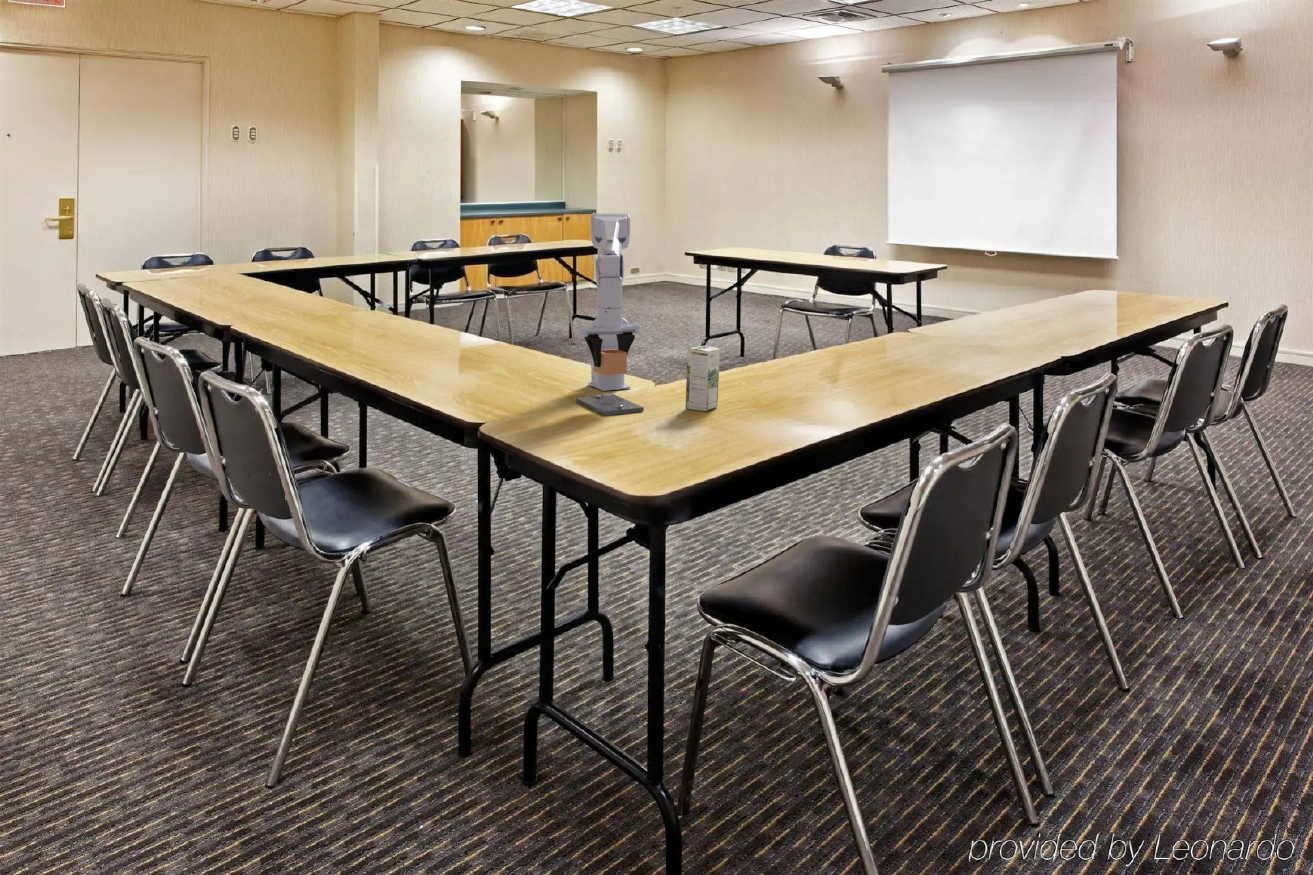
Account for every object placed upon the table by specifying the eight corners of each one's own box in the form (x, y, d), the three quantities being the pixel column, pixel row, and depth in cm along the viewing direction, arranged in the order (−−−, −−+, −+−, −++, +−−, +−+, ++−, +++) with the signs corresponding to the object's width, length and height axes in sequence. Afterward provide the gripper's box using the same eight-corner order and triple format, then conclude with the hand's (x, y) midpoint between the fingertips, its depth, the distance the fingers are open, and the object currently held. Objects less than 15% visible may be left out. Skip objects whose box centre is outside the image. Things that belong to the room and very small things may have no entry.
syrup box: (696, 404, 236) (698, 344, 232) (718, 407, 233) (720, 347, 229) (685, 409, 231) (686, 348, 227) (707, 412, 228) (708, 350, 224)
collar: (593, 371, 231) (593, 350, 230) (615, 369, 234) (615, 348, 233) (604, 375, 226) (604, 354, 225) (626, 373, 229) (626, 352, 228)
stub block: (576, 402, 237) (576, 389, 236) (613, 398, 241) (613, 386, 241) (604, 415, 223) (604, 402, 222) (643, 411, 228) (643, 398, 227)
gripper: (588, 310, 220) (588, 370, 223) (645, 307, 226) (644, 365, 230) (575, 307, 226) (576, 365, 229) (631, 304, 232) (631, 360, 236)
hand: (609, 365), depth 230 cm, fingers closed on collar, 6 cm apart
